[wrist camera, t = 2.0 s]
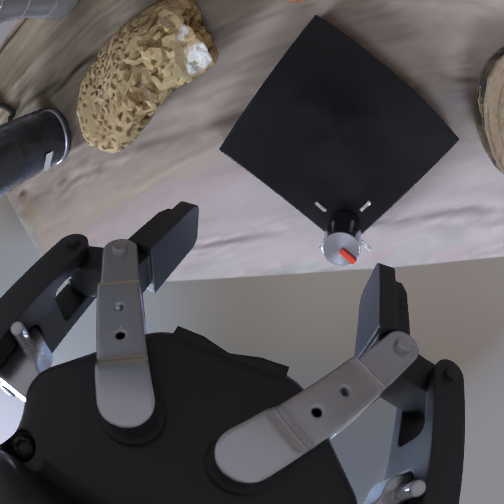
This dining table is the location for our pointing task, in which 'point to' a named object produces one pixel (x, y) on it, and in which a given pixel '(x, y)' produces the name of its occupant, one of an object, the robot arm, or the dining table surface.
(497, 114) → the tan disc
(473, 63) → the dining table surface
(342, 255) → the hob knob
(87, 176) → the dining table surface
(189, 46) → the sponge
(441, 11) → the dining table surface
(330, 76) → the hob
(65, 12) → the plastic bottle
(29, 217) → the dining table surface
